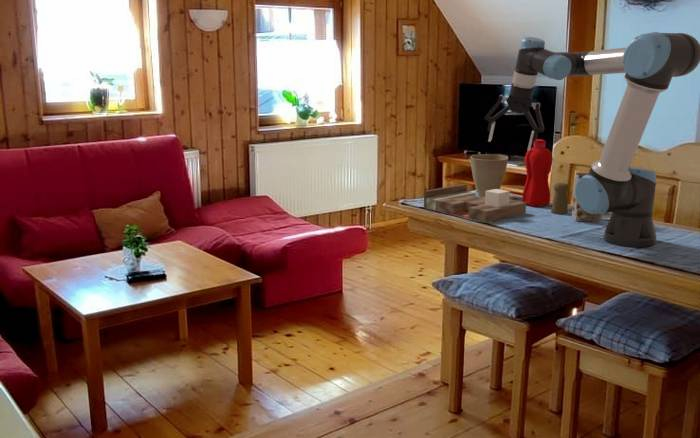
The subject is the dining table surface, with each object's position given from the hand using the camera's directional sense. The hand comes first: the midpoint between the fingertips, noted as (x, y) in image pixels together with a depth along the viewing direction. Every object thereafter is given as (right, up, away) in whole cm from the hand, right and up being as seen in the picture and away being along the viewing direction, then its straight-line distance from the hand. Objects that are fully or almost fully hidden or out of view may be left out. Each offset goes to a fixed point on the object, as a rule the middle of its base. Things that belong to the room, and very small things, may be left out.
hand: (509, 145), depth 245 cm
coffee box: (+28, -26, +4) cm, 38 cm away
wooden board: (-9, -22, +17) cm, 30 cm away
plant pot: (+1, -16, +43) cm, 46 cm away
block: (-3, -20, +8) cm, 22 cm away
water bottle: (+17, -20, +28) cm, 38 cm away
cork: (+21, -23, +14) cm, 35 cm away
